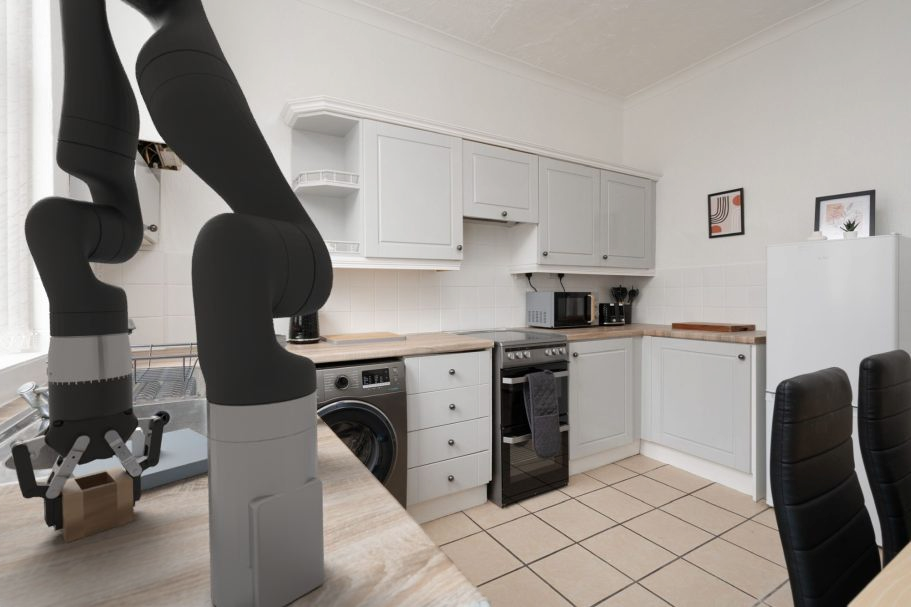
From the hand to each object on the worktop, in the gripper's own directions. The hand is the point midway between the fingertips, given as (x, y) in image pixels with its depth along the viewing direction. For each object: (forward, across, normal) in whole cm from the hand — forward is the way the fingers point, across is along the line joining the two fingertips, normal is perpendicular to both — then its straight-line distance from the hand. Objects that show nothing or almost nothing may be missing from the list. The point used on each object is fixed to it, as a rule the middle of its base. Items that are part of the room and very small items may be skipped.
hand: (95, 515), depth 51 cm
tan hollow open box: (+1, 0, 0) cm, 1 cm away
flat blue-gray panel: (+1, +9, +16) cm, 18 cm away
